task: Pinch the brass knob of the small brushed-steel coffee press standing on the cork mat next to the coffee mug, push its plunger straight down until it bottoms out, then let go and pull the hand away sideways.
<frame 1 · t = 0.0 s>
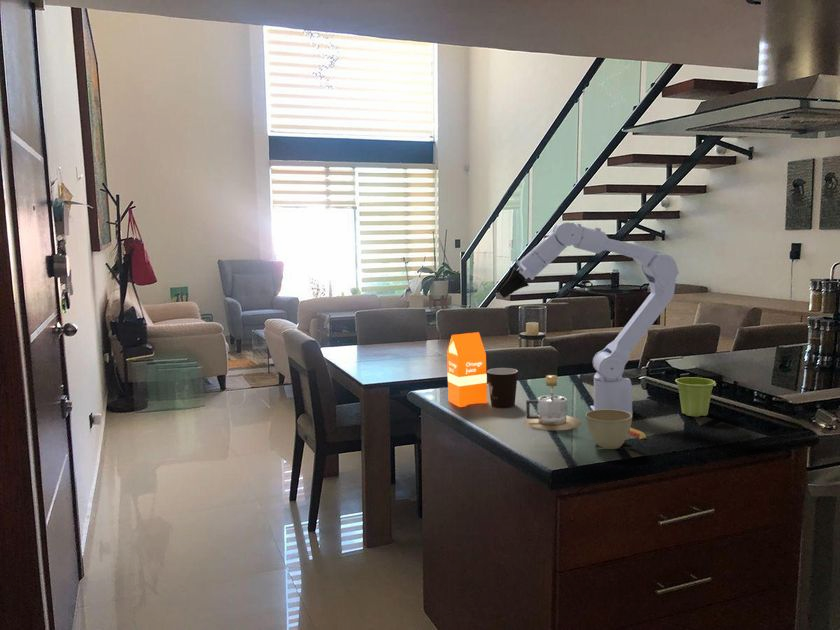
hand: (500, 293, 172), 32 cm above the countertop, tool tilted 50°, fingers open, 7 cm apart
orange juice: (467, 402, 189), on the countertop
plant pot: (694, 414, 169), on the countertop
beige bowl: (608, 446, 147), on the countertop
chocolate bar: (626, 435, 155), on the countertop
cork mat: (552, 423, 165), on the countertop
press carafe: (552, 421, 165), resting on cork mat
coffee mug: (503, 405, 185), on the countertop
plunger: (551, 389, 164), point 9 cm above the countertop, slide at 0.0 cm
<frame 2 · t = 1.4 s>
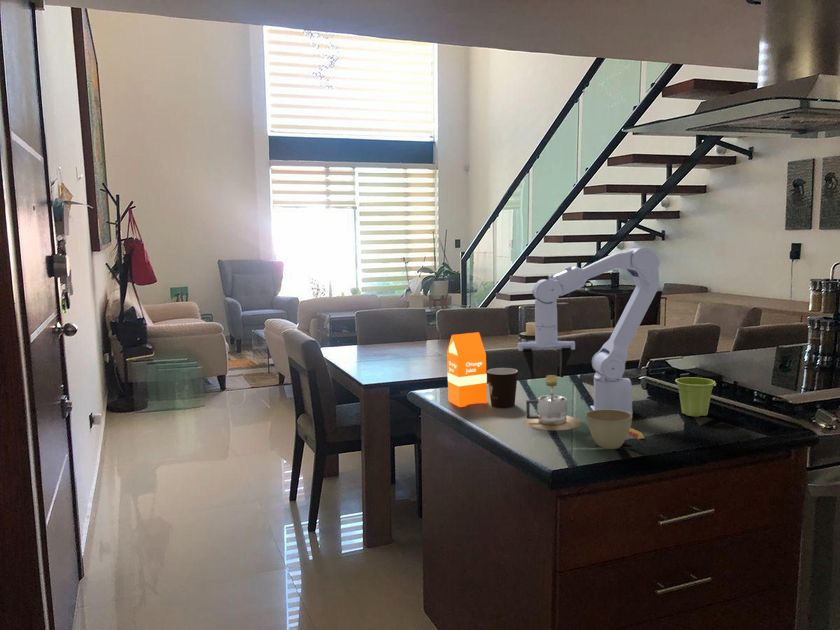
hand: (546, 376, 173), 10 cm above the countertop, tool pointing down, fingers open, 7 cm apart
nothing on the countertop moved.
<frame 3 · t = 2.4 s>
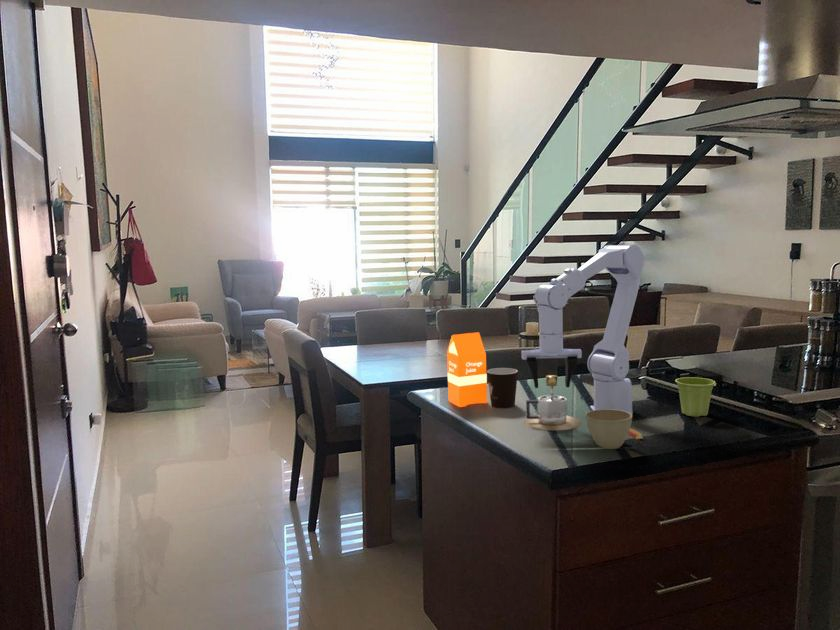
hand: (551, 386, 164), 9 cm above the countertop, tool pointing down, fingers open, 7 cm apart
nothing on the countertop moved.
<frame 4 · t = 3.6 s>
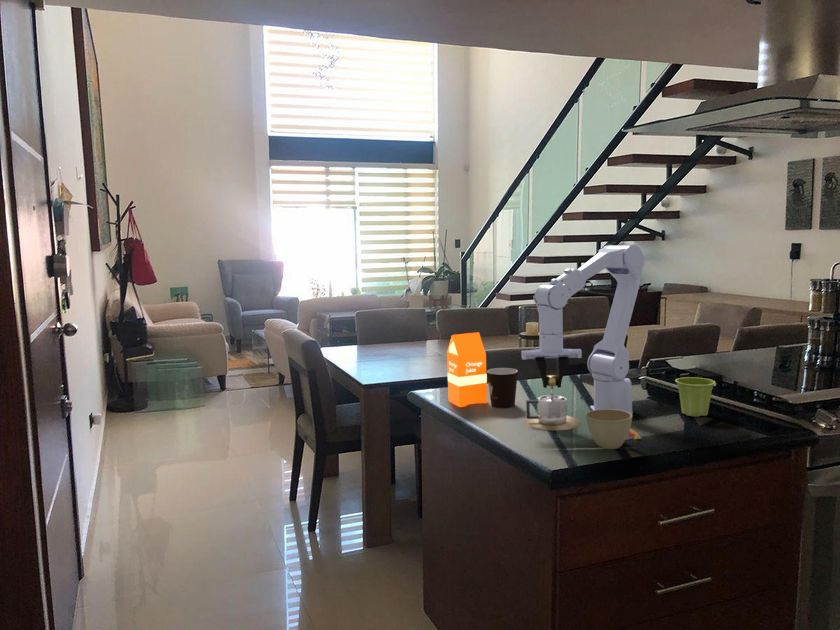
hand: (551, 386, 164), 9 cm above the countertop, tool pointing down, fingers closed on plunger, 3 cm apart
plunger: (551, 389, 164), point 9 cm above the countertop, slide at 0.0 cm, touching gripper
everything else where it was.
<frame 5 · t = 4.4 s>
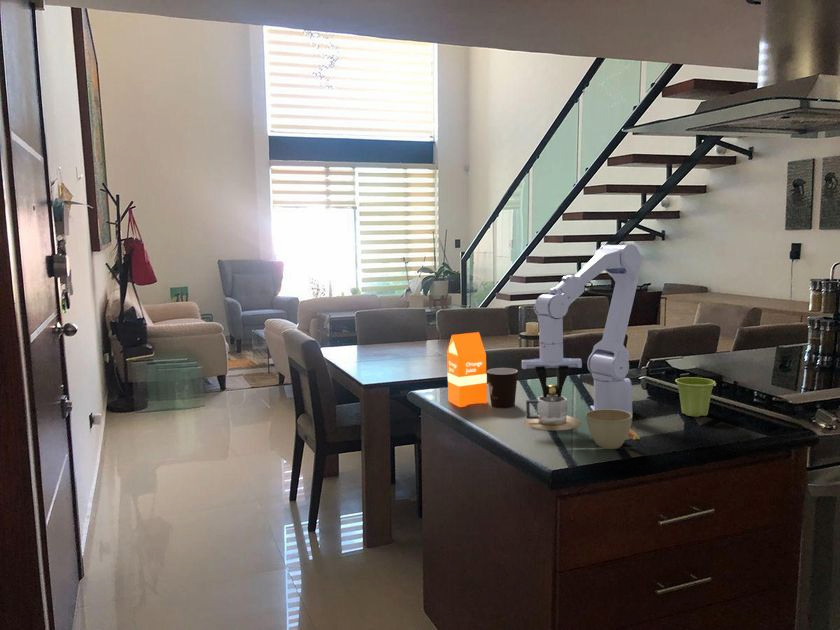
hand: (551, 396, 164), 7 cm above the countertop, tool pointing down, fingers closed on plunger, 3 cm apart
plunger: (552, 398, 164), point 6 cm above the countertop, slide at 2.4 cm, touching gripper
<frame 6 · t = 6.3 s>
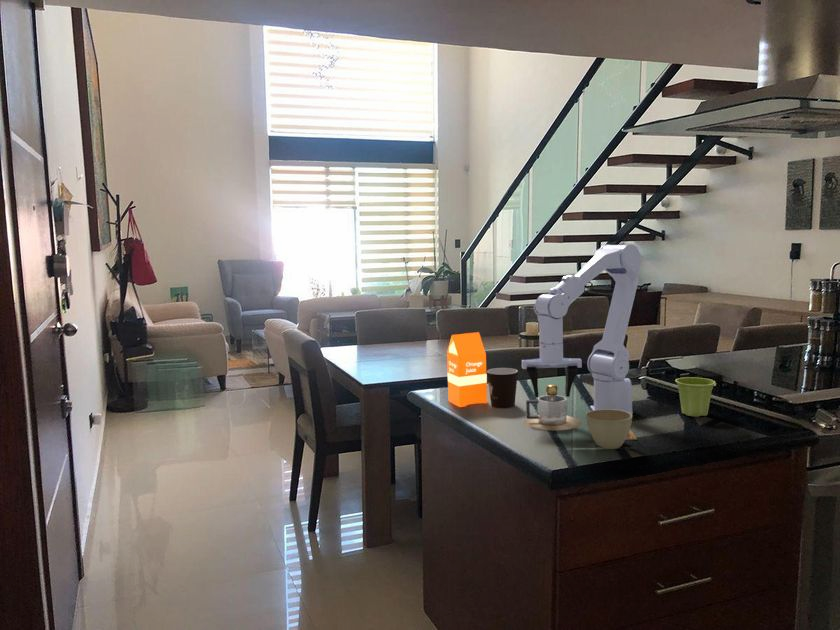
hand: (551, 396, 164), 7 cm above the countertop, tool pointing down, fingers open, 7 cm apart
plunger: (552, 398, 164), point 6 cm above the countertop, slide at 2.4 cm
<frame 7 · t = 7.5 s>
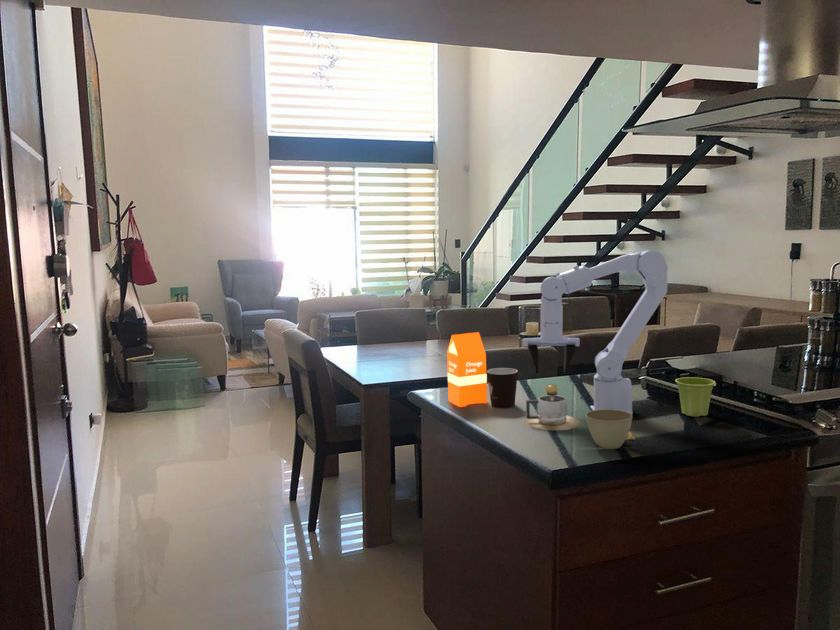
hand: (551, 372, 176), 10 cm above the countertop, tool pointing down, fingers open, 7 cm apart
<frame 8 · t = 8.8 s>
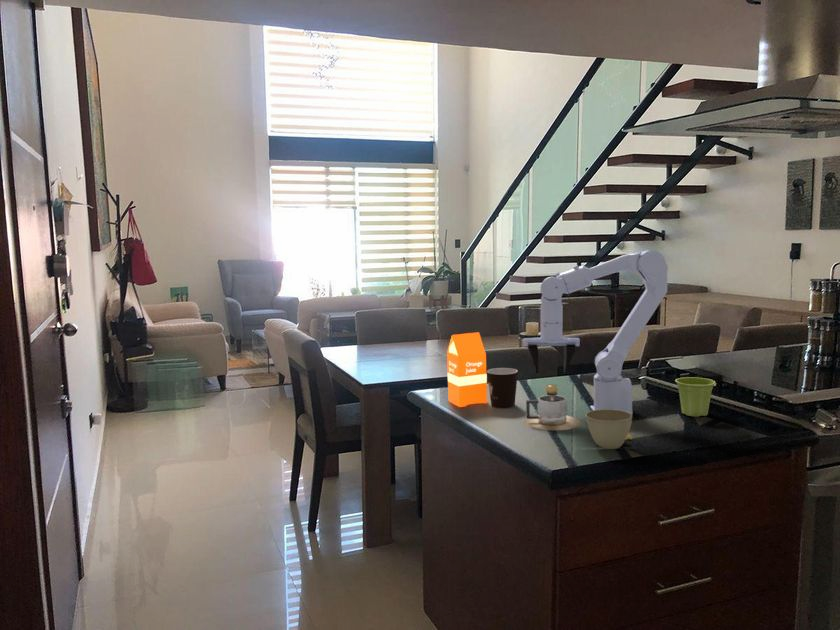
hand: (551, 372, 176), 10 cm above the countertop, tool pointing down, fingers open, 7 cm apart
at the end: plunger slide at 2.4 cm; the gripper is holding nothing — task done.
